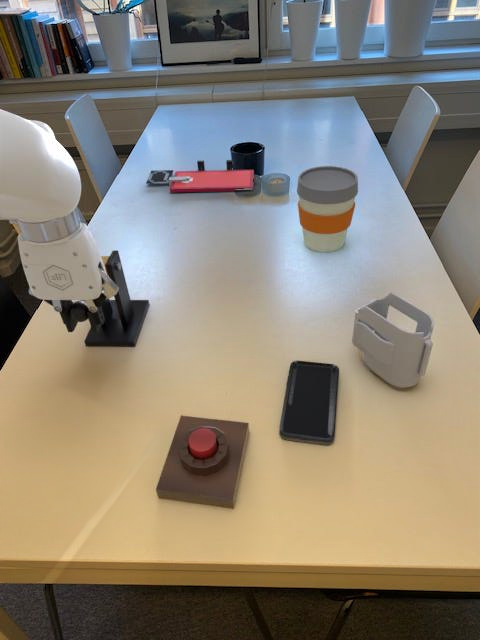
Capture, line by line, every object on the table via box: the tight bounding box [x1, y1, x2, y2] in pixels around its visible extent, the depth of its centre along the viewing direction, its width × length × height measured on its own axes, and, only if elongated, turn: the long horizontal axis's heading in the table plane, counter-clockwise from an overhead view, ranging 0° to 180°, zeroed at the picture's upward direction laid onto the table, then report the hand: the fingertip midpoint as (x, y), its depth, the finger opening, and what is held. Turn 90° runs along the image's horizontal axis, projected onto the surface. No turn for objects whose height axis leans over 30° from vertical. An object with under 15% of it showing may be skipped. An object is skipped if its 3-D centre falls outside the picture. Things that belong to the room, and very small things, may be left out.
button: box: [189, 429, 217, 459], centre depth 64 cm, size 4×4×2 cm
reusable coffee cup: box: [296, 165, 359, 253], centre depth 105 cm, size 12×13×15 cm
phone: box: [278, 360, 340, 446], centre depth 74 cm, size 8×1×15 cm
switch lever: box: [69, 255, 110, 323], centre depth 79 cm, size 15×3×3 cm, turn 176°
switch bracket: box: [83, 250, 150, 348], centre depth 87 cm, size 12×9×15 cm
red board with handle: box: [145, 159, 255, 193], centre depth 137 cm, size 30×3×15 cm
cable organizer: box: [351, 291, 435, 388], centre depth 75 cm, size 7×12×12 cm, turn 35°
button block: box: [155, 415, 250, 510], centre depth 66 cm, size 12×10×4 cm
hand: (85, 325), depth 76 cm, fingers closed on switch lever, 3 cm apart
